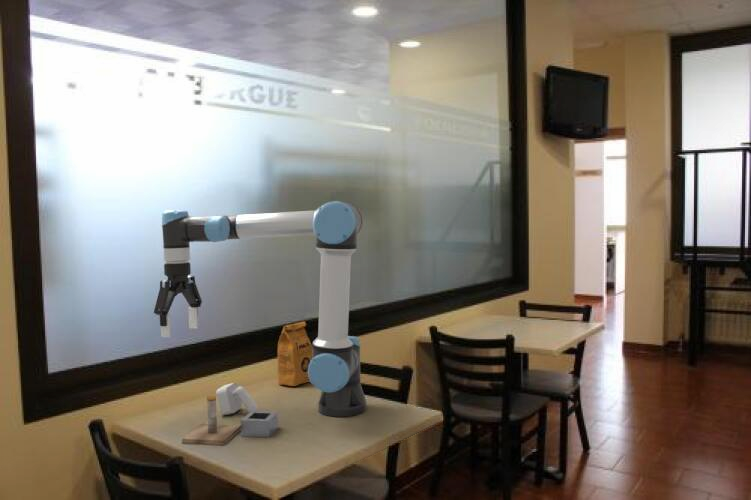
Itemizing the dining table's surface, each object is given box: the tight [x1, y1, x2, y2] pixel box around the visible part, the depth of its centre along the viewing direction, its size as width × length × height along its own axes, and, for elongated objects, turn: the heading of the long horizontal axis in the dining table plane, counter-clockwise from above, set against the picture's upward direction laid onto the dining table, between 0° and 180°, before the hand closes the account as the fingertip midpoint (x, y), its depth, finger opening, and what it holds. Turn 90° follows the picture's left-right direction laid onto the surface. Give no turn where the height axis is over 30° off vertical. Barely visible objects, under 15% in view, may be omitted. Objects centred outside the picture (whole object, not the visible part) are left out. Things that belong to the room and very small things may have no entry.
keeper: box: [181, 394, 241, 446], centre depth 172 cm, size 12×12×11 cm
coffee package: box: [276, 321, 313, 387], centre depth 224 cm, size 10×12×22 cm
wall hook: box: [215, 382, 259, 416], centre depth 192 cm, size 8×10×10 cm
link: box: [240, 410, 279, 438], centre depth 175 cm, size 8×8×4 cm
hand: (180, 332), depth 186 cm, fingers open, 13 cm apart
